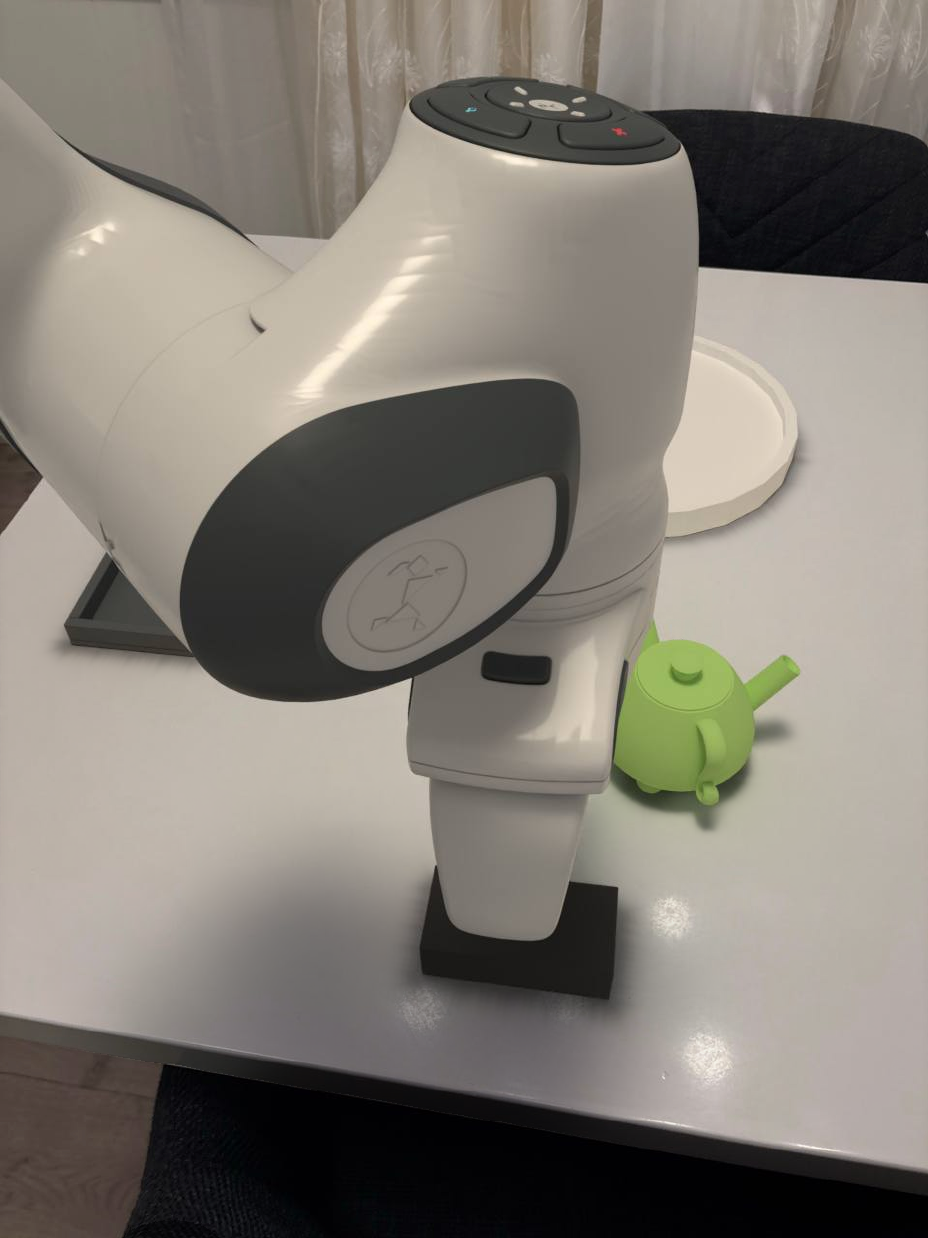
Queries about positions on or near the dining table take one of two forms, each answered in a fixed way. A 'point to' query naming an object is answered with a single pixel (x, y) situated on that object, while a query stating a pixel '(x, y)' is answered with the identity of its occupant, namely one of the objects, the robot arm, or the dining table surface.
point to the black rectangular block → (530, 947)
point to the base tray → (118, 616)
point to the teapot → (690, 716)
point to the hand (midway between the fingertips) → (527, 791)
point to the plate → (726, 441)
